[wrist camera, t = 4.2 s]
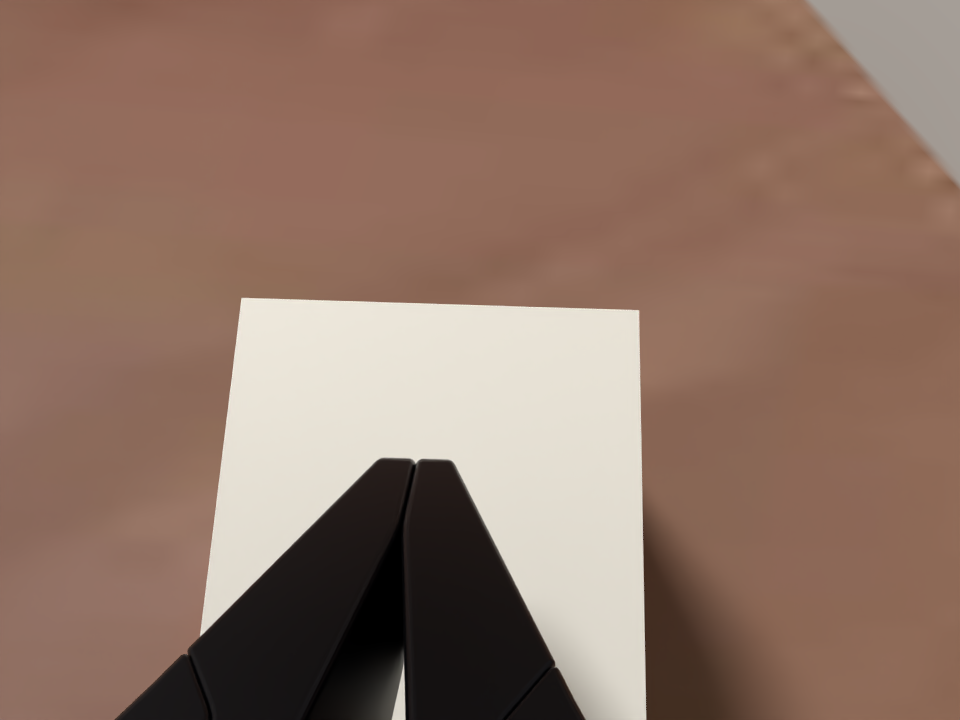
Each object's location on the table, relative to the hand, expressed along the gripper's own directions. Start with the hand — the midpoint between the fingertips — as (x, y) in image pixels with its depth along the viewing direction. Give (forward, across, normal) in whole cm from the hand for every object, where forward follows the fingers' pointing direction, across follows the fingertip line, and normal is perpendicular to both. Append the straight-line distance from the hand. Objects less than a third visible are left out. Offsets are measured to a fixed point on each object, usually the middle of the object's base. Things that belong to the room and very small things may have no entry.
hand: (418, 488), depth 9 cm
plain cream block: (+7, 0, +7) cm, 10 cm away
